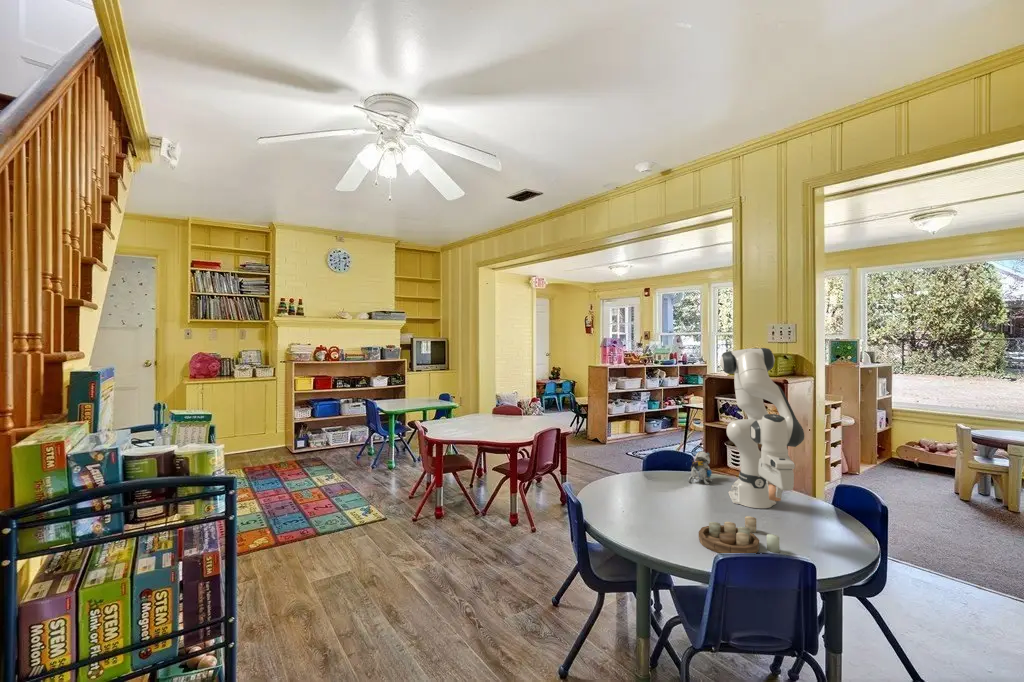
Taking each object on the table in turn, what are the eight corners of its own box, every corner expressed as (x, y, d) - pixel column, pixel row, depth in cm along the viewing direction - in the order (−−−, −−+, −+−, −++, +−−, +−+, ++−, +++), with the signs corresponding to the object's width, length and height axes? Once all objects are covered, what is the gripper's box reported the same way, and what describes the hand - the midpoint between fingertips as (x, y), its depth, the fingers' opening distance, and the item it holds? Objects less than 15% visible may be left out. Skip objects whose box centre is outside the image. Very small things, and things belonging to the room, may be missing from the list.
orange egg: (766, 497, 176) (766, 484, 176) (777, 497, 176) (777, 484, 176) (771, 501, 172) (771, 487, 172) (783, 501, 172) (782, 487, 172)
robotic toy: (718, 479, 250) (718, 451, 250) (706, 487, 237) (706, 457, 237) (695, 474, 259) (694, 448, 259) (682, 481, 246) (681, 453, 246)
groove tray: (692, 531, 182) (692, 517, 182) (745, 533, 180) (745, 519, 180) (708, 555, 162) (708, 539, 162) (768, 557, 160) (768, 541, 160)
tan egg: (743, 528, 185) (743, 516, 185) (753, 529, 184) (753, 516, 184) (747, 532, 181) (747, 520, 181) (758, 533, 180) (758, 520, 180)
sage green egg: (764, 547, 168) (764, 533, 168) (776, 548, 167) (776, 534, 167) (769, 552, 164) (769, 538, 164) (781, 553, 163) (781, 539, 163)
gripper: (753, 451, 184) (753, 486, 184) (778, 465, 164) (779, 504, 164) (770, 451, 184) (770, 486, 184) (797, 465, 164) (797, 504, 164)
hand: (774, 495), depth 174 cm, fingers closed on orange egg, 4 cm apart
